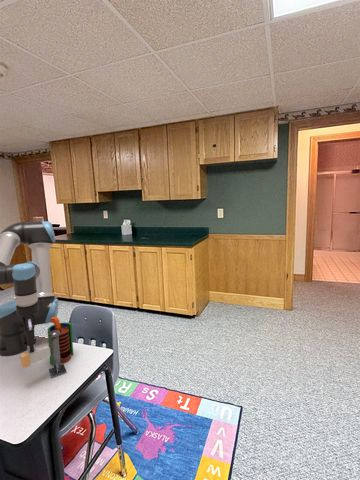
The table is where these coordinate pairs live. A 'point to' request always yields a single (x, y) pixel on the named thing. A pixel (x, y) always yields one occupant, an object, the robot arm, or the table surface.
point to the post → (56, 355)
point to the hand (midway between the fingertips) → (32, 358)
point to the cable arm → (34, 356)
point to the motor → (62, 340)
